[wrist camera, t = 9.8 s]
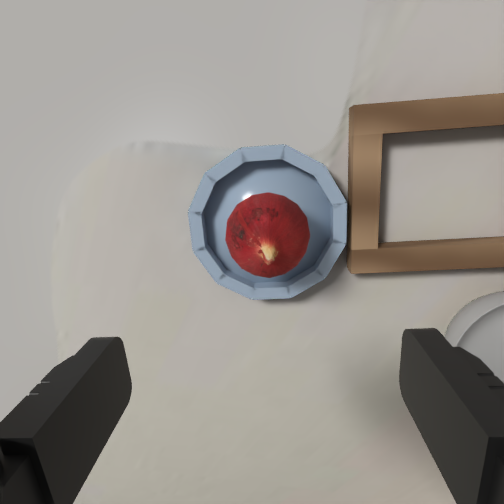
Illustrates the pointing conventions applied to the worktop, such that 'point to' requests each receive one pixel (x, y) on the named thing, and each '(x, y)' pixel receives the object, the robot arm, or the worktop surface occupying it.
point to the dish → (278, 182)
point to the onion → (267, 234)
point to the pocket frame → (369, 179)
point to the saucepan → (481, 331)
